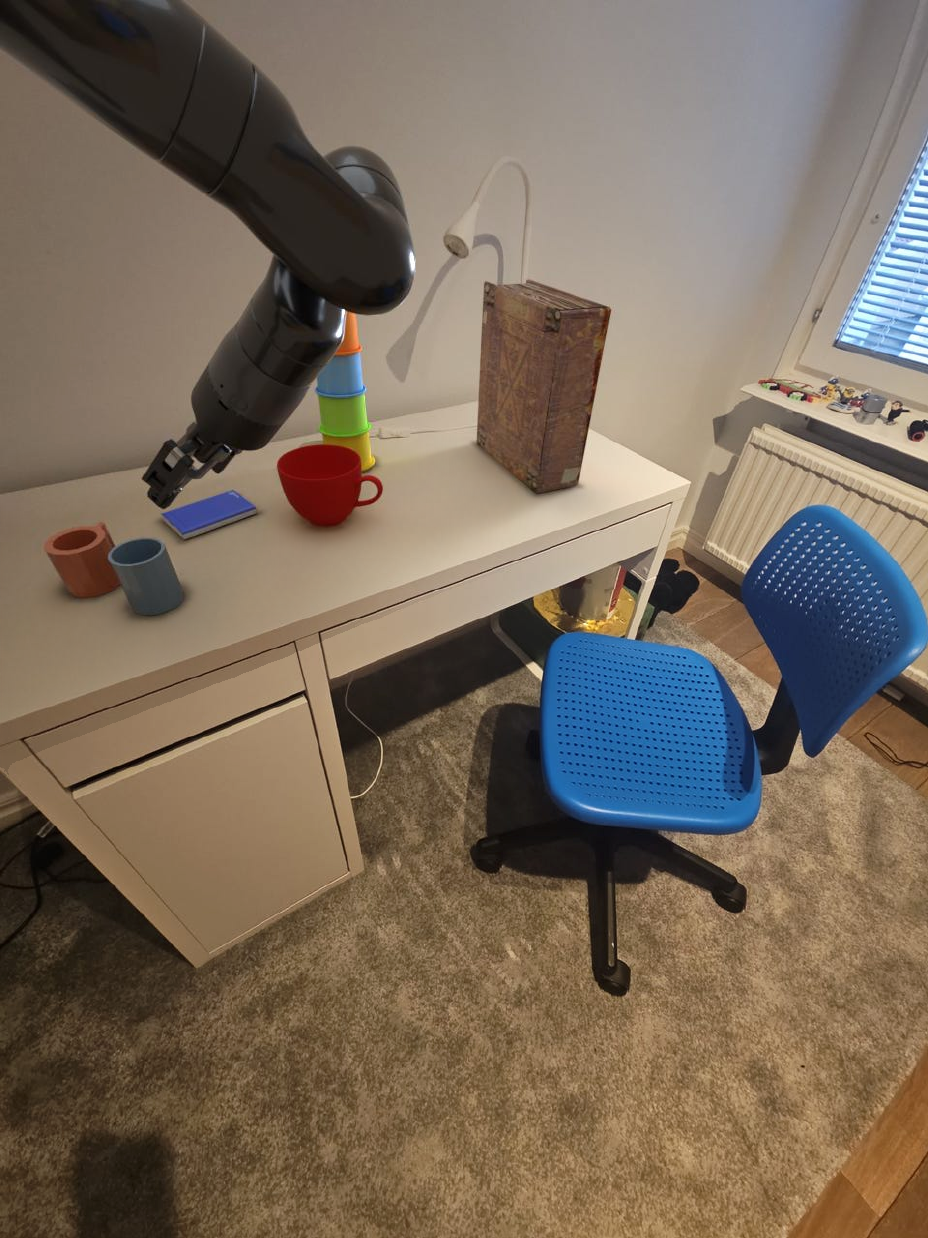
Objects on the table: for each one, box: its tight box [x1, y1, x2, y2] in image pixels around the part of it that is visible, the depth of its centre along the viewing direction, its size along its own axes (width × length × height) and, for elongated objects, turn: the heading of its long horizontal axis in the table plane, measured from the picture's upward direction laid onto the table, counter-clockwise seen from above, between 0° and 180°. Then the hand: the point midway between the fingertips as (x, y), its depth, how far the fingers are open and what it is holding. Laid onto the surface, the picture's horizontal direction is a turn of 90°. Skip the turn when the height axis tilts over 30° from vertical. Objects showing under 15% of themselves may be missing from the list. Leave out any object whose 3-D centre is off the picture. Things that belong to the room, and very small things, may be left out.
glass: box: [108, 536, 185, 617], centre depth 70 cm, size 6×6×8 cm
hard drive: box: [160, 489, 258, 540], centre depth 89 cm, size 2×8×12 cm
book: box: [476, 278, 612, 495], centre depth 99 cm, size 25×9×30 cm, turn 25°
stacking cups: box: [314, 312, 376, 473], centre depth 95 cm, size 10×10×35 cm
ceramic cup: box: [276, 443, 384, 528], centre depth 87 cm, size 13×17×10 cm
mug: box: [43, 521, 121, 598], centre depth 74 cm, size 10×7×7 cm
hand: (186, 482), depth 58 cm, fingers open, 8 cm apart
